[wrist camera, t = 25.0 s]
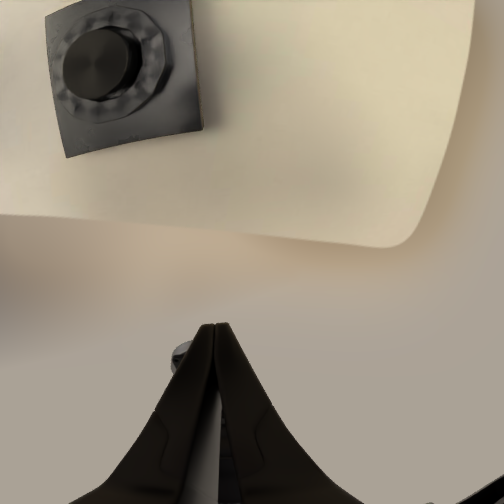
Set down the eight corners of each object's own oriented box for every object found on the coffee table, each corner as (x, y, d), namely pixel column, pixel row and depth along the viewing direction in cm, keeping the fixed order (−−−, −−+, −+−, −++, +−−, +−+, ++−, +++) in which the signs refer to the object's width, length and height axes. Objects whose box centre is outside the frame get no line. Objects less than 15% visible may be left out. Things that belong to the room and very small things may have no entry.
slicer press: (204, 126, 17) (200, 137, 14) (73, 153, 16) (52, 168, 14) (189, -23, 11) (183, -39, 9) (53, 18, 11) (29, 14, 8)
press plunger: (142, 86, 13) (132, 88, 11) (81, 102, 13) (67, 107, 11) (135, 24, 11) (124, 19, 9) (73, 44, 10) (58, 43, 9)
